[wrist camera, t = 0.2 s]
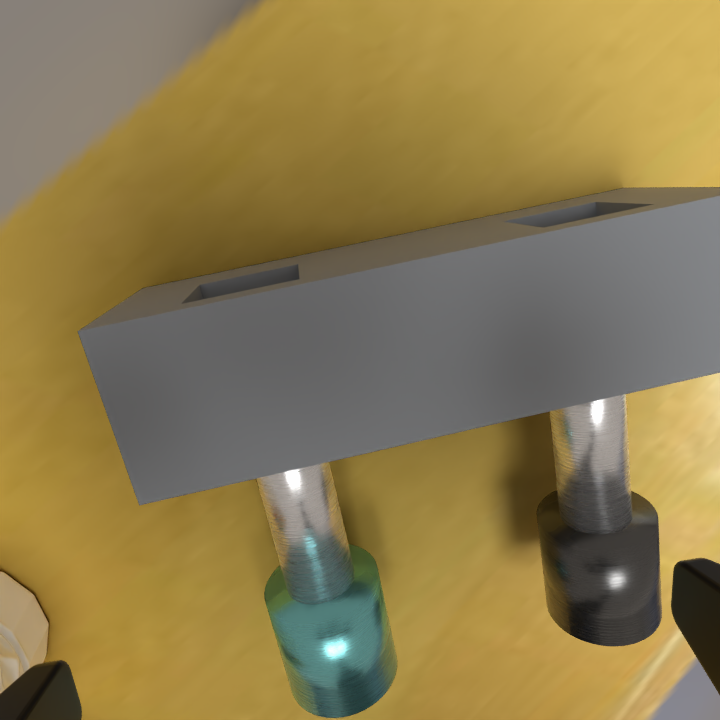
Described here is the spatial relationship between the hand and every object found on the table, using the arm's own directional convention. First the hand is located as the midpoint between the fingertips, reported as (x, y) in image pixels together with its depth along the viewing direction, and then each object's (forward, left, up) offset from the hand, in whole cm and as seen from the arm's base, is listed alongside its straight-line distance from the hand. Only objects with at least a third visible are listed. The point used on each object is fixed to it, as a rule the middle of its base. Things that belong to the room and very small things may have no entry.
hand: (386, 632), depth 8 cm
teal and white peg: (-5, +2, -12) cm, 13 cm away
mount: (+2, -3, -14) cm, 15 cm away
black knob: (-5, -8, -12) cm, 15 cm away
